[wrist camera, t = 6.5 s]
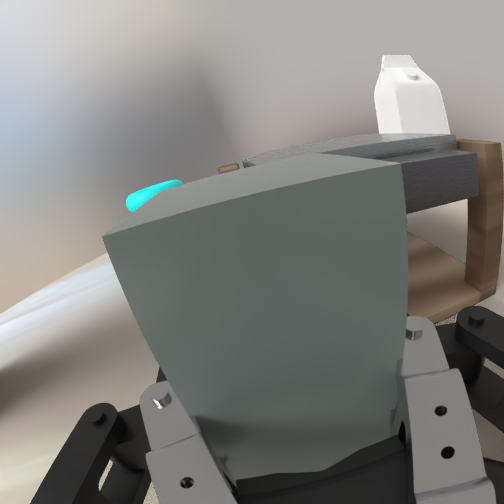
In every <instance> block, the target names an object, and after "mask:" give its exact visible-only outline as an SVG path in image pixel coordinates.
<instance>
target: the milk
mask: <svg viewBox="0 0 504 504" xmlns="http://www.w3.org/2000/svg"><path fill="white" fill-rule="evenodd" d="M381 69H382V70H381V71H380V74H379V78H378V81H377V84H376V87H375V92H374V100H375V106H376V112H377V119H378V126H379V134H383V133H427V134H450V130H449V125H448V121H447V116H446V111H445V107H444V103H443V99H442V95H441V91H440V89H439V87H438V85H437V84H436V83H435V82H434V81H433V80H432V79H431V78H430V77H428V76H427V75H426V74H425V73H424V72H423V71H421V70H420V69H419V68H418V67H417V65H416V64H415V62H414V61H413V60H412V58H411V57H410V55H384V56H383V57H382V66H381Z"/></svg>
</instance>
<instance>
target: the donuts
mask: <svg viewBox="0 0 504 504" xmlns="http://www.w3.org/2000/svg"><path fill="white" fill-rule="evenodd" d="M179 185H183V183H182V182H181V181H179V180H171V181H167V182H163V183H160V184H157V185H153V186H151V187H148V188H145V189H142V190H140V191H137V192H135V193H132V194H131V195H129V196H128V198H127V200H126V205H127V208H128V209H129V210H130V211H132V212H134V211H135V210H136V209H138V208H139V207H140V206H142V205H143V204H144V203H145V202H147V201H148V200H150V199H151V198H152V197H154V196H155V195H156V194H158V193H159V192H160V191H162V190H166V189H169V188H172V187H176V186H179Z"/></svg>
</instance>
